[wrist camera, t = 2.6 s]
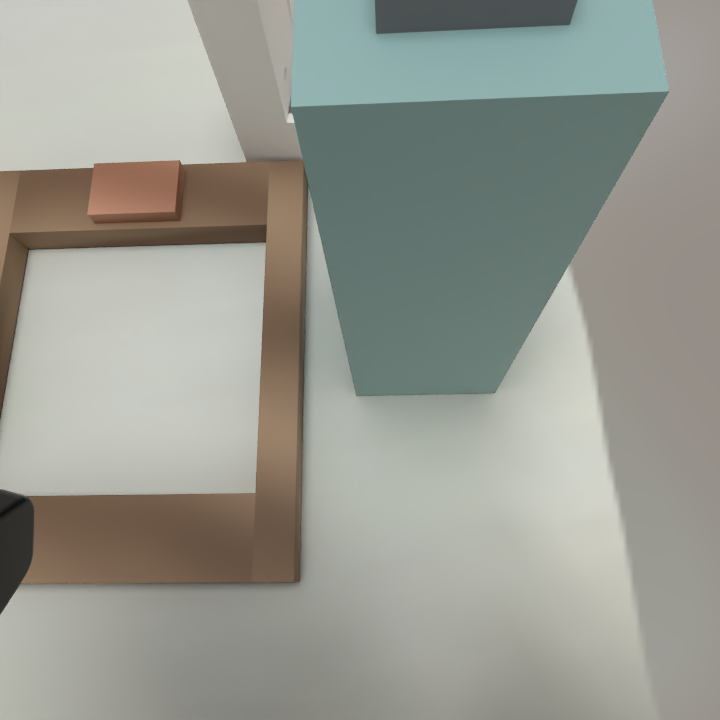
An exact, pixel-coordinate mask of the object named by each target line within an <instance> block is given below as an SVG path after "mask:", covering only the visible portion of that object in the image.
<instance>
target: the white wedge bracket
mask: <svg viewBox="0 0 720 720" xmlns="http://www.w3.org/2000/svg"><path fill="white" fill-rule="evenodd" d="M188 3H189V5H190V8H191V11H192V14H193V16H194V19H195V22H196V25H197V27H198V30H199V33H200V35H201V38H202V41H203V44H204V46H205V49H206V52H207V54H208V57H209V60H210V63H211V65H212V68H213V71H214V74H215V76H216V79H217V82H218V84H219V87H220V90H221V93H222V95H223V98H224V101H225V103H226V106H227V109H228V112H229V114H230V117H231V120H232V123H233V125H234V128H235V131H236V133H237V136H238V139H239V142H240V144H241V147H242V150H243V152H244V155H245V158H246V161H247V162H269V161H296V160H303V158H302V154H301V149H300V145H299V140H298V136H297V132H296V127H295V123H294V118H293V114H292V110H291V87H292V55H293V23H294V0H188Z"/></svg>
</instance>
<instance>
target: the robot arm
mask: <svg viewBox="0 0 720 720" xmlns="http://www.w3.org/2000/svg"><path fill="white" fill-rule="evenodd" d="M33 544H34V504H33V502H32V500H31V499H30V498H29V497H27V496H24V495H21V494H17V493H13V492H10V491H6V490H2V489H0V614H1V613H2V611H3V610H4V608H5V607H6V605H7V604H8V602H9V600H10V599H11V597H12V596H13V594H14V593H15V591H16V590H17V588H18V587H19V585H20V584H21V582H22V580H23V579H24V577H25V576H26V574H27V572H28V570H29V568H30V565H31V562H32V558H33Z"/></svg>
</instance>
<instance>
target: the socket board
mask: <svg viewBox="0 0 720 720" xmlns="http://www.w3.org/2000/svg"><path fill="white" fill-rule="evenodd" d="M307 200H308V180H307V176H306V171H305V167H304V163H303V160H296V161H269V162H242V163H215V164H188V165H182V164H181V162H180V160H179V161H153V162H126V163H99V164H94V168H80V169H53V170H27V171H0V415H1V409H2V403H3V397H4V391H5V385H6V379H7V373H8V367H9V361H10V355H11V349H12V343H13V337H14V331H15V325H16V319H17V313H18V307H19V301H20V295H21V289H22V283H23V277H24V271H25V265H26V259H27V253H28V249H49V248H81V247H113V246H145V245H177V244H209V243H241V242H266V259H265V282H264V306H263V330H262V353H261V377H260V401H259V425H258V448H257V472H256V493H249V494H169V495H89V496H27V497H29V498H30V499H31V500H32V502H33V504H34V544H33V558H32V562H31V565H30V568H29V570H28V572H27V574H26V576H25V577H24V579H23V580H22V582H21V584H59V583H229V582H297V581H300V537H301V489H302V441H303V392H304V344H305V296H306V248H307Z"/></svg>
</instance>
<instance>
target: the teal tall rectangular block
mask: <svg viewBox="0 0 720 720" xmlns="http://www.w3.org/2000/svg"><path fill="white" fill-rule="evenodd" d="M668 93H669V88H668V82H667V77H666V72H665V66H664V61H663V55H662V50H661V45H660V39H659V34H658V28H657V23H656V18H655V12H654V7H653V2H652V0H294V23H293V55H292V87H291V110H292V114H293V118H294V123H295V127H296V132H297V136H298V140H299V145H300V149H301V154H302V158H303V163H304V167H305V171H306V176H307V180H308V185H309V189H310V193H311V198H312V202H313V207H314V211H315V215H316V220H317V224H318V229H319V233H320V237H321V242H322V246H323V251H324V255H325V259H326V264H327V268H328V273H329V277H330V281H331V286H332V290H333V295H334V299H335V303H336V308H337V312H338V317H339V321H340V326H341V330H342V334H343V339H344V343H345V348H346V352H347V356H348V361H349V365H350V370H351V374H352V378H353V383H354V387H355V392H356V396H375V395H426V394H477V393H495V392H496V390H497V388H498V386H499V385H500V383H501V381H502V379H503V378H504V376H505V374H506V372H507V371H508V369H509V367H510V366H511V364H512V362H513V360H514V359H515V357H516V355H517V353H518V352H519V350H520V348H521V347H522V345H523V343H524V341H525V340H526V338H527V336H528V334H529V333H530V331H531V329H532V328H533V326H534V324H535V322H536V321H537V319H538V317H539V315H540V314H541V312H542V310H543V309H544V307H545V305H546V303H547V302H548V300H549V298H550V296H551V295H552V293H553V291H554V290H555V288H556V286H557V284H558V283H559V281H560V279H561V277H562V276H563V274H564V272H565V271H566V269H567V267H568V265H569V264H570V262H571V260H572V258H573V257H574V255H575V253H576V252H577V250H578V248H579V246H580V245H581V243H582V241H583V239H584V238H585V236H586V234H587V233H588V231H589V229H590V227H591V226H592V224H593V222H594V220H595V219H596V217H597V215H598V214H599V212H600V210H601V208H602V207H603V205H604V203H605V201H606V200H607V198H608V196H609V195H610V193H611V191H612V189H613V188H614V186H615V184H616V182H617V181H618V179H619V177H620V176H621V174H622V172H623V170H624V169H625V167H626V165H627V163H628V162H629V160H630V158H631V156H632V155H633V153H634V151H635V150H636V148H637V146H638V144H639V143H640V141H641V139H642V137H643V136H644V134H645V132H646V130H647V129H648V127H649V125H650V123H651V122H652V120H653V119H654V117H655V115H656V113H657V112H658V110H659V108H660V106H661V105H662V103H663V101H664V99H665V98H666V96H667V94H668Z"/></svg>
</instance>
